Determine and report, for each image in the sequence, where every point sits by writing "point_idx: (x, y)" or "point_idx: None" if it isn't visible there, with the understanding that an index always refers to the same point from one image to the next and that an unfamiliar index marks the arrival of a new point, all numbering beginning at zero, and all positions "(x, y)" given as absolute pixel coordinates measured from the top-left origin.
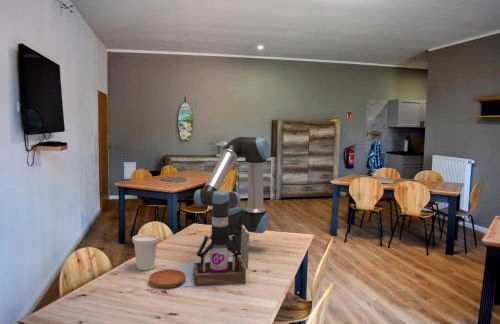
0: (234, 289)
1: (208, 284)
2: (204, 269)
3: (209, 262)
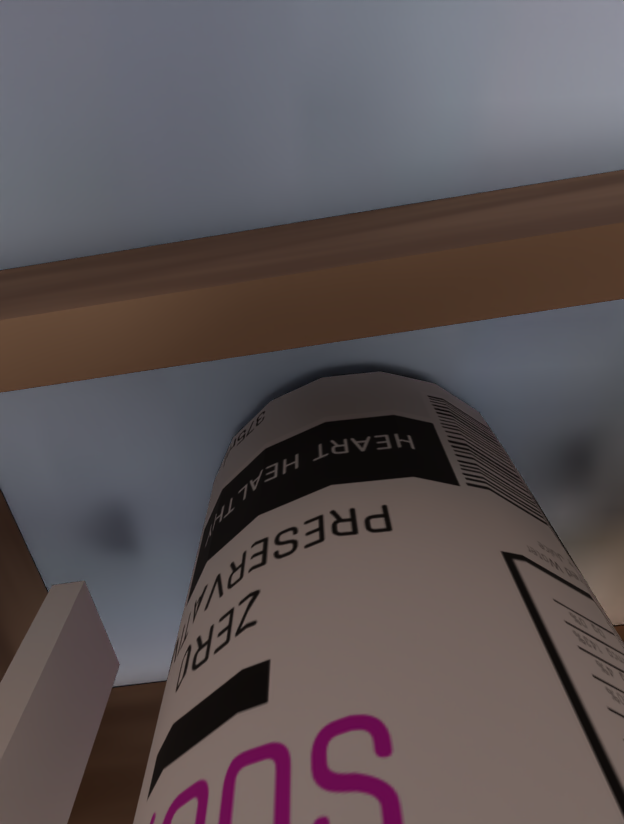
0: None
1: None
2: (95, 709)
3: (109, 339)
